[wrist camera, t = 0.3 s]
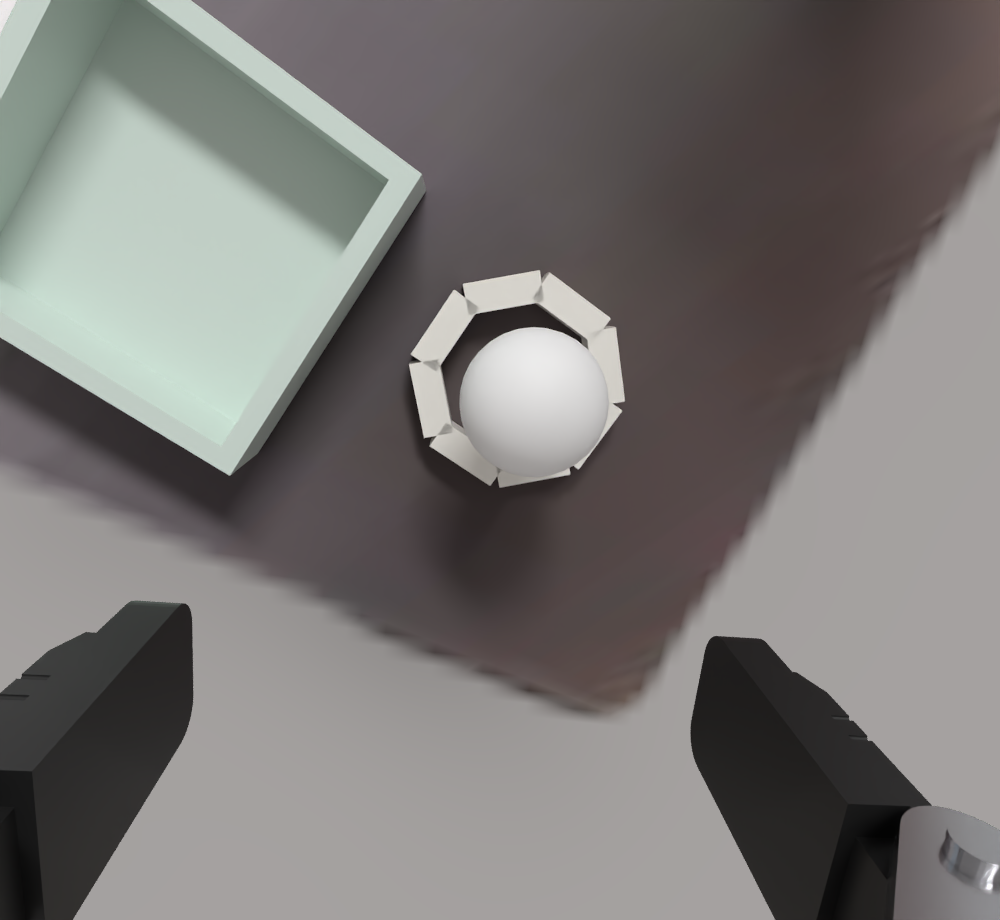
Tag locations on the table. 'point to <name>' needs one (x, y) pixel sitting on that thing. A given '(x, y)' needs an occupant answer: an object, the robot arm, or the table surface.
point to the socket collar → (451, 326)
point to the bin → (180, 216)
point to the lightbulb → (534, 402)
